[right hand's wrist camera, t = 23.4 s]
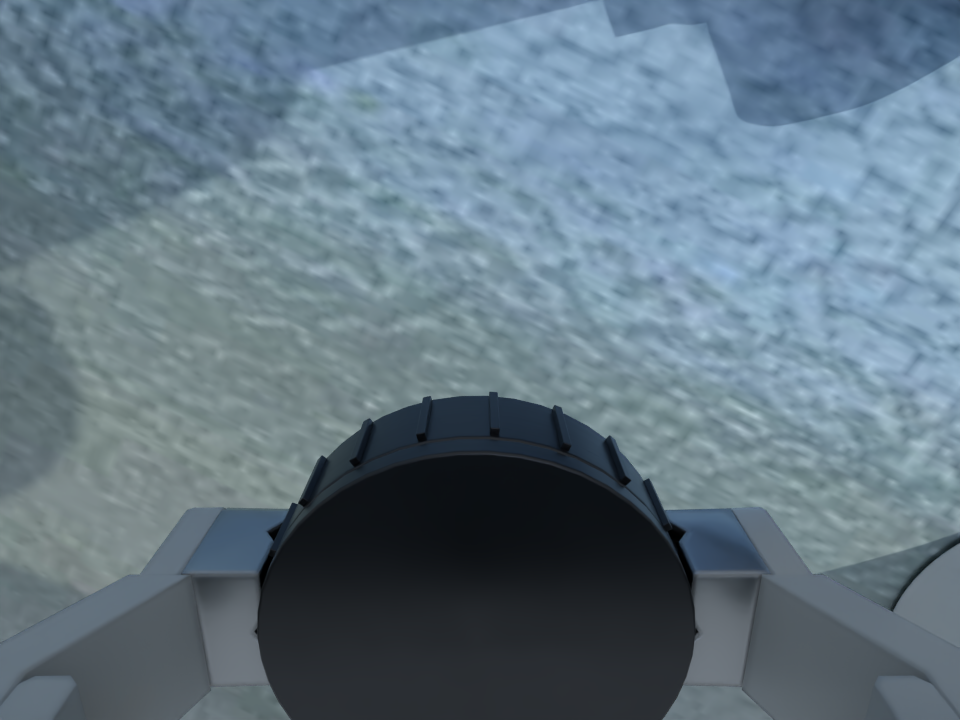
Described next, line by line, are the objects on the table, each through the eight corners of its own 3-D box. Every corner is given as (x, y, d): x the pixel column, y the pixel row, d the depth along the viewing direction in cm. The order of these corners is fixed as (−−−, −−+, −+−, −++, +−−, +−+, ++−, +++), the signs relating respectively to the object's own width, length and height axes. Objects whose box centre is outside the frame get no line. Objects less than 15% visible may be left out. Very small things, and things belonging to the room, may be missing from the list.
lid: (318, 718, 11) (293, 815, 10) (252, 405, 9) (208, 465, 8) (664, 698, 11) (694, 793, 9) (671, 375, 9) (710, 430, 7)
